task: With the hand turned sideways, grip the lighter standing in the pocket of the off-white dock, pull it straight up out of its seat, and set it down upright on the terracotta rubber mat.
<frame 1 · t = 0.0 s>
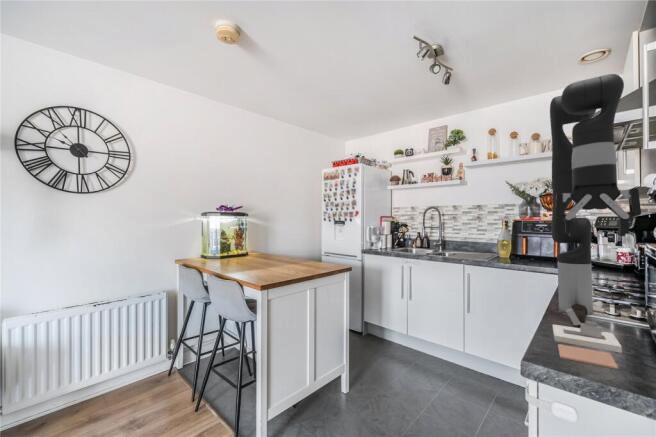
hand: (595, 236, 66), 29 cm above the countertop, tool pointing down, fingers open, 8 cm apart
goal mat: (585, 356, 69), on the countertop
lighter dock: (583, 339, 79), on the countertop
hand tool: (581, 324, 91), on the countertop
lighter: (583, 340, 79), resting in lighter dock
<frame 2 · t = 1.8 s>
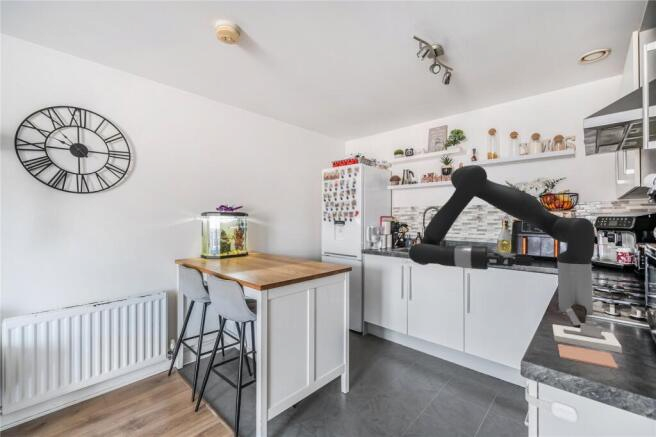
hand: (531, 260, 85), 21 cm above the countertop, tool horizontal, fingers open, 8 cm apart
nothing on the countertop moved.
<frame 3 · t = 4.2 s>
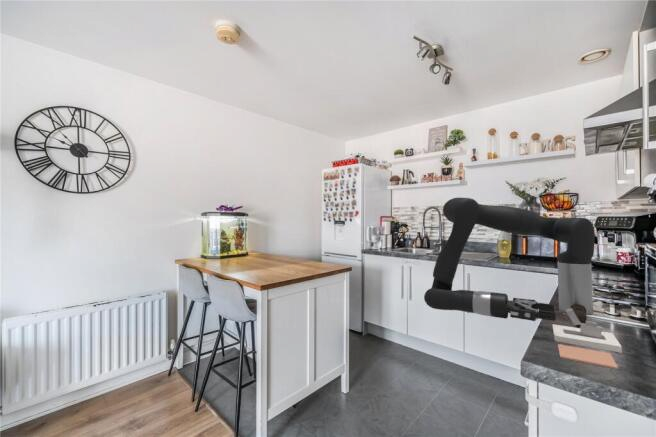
hand: (554, 312, 82), 6 cm above the countertop, tool horizontal, fingers open, 8 cm apart
nothing on the countertop moved.
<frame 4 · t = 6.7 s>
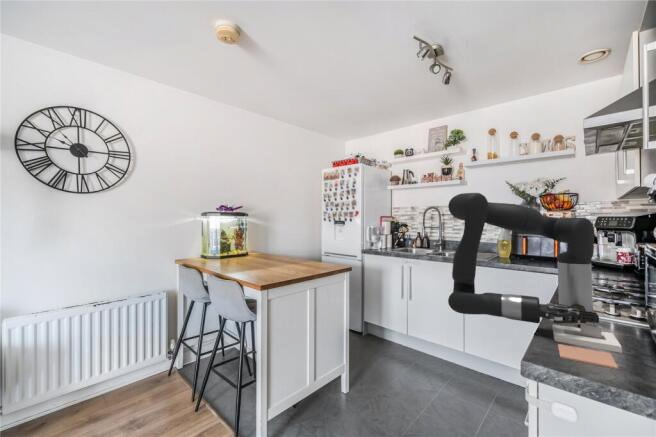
hand: (597, 317, 77), 7 cm above the countertop, tool horizontal, fingers closed on lighter, 1 cm apart
lighter: (583, 340, 79), resting in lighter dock, touching gripper
everything else where it was.
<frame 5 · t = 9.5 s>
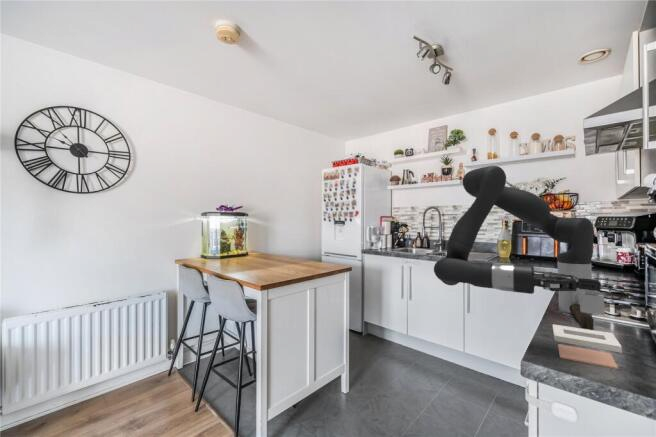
hand: (599, 285, 68), 17 cm above the countertop, tool horizontal, fingers closed on lighter, 1 cm apart
lighter: (583, 312, 69), point 11 cm above the countertop, touching gripper
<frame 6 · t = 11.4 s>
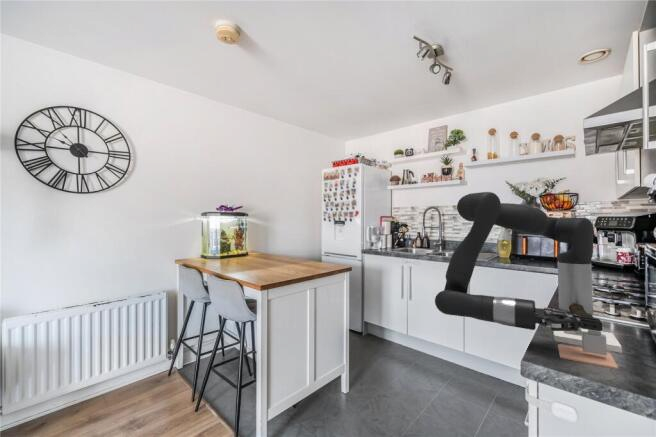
hand: (601, 325, 68), 8 cm above the countertop, tool horizontal, fingers closed on lighter, 1 cm apart
lighter: (585, 351, 69), point 1 cm above the countertop, touching gripper
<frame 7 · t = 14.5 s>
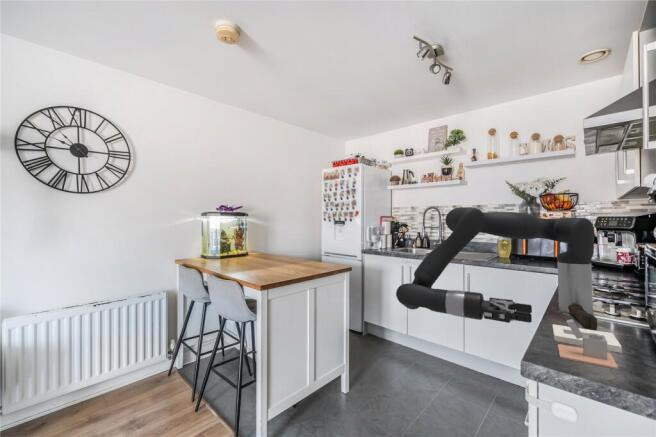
hand: (531, 313, 75), 9 cm above the countertop, tool horizontal, fingers open, 8 cm apart
lighter: (586, 355, 69), resting on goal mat
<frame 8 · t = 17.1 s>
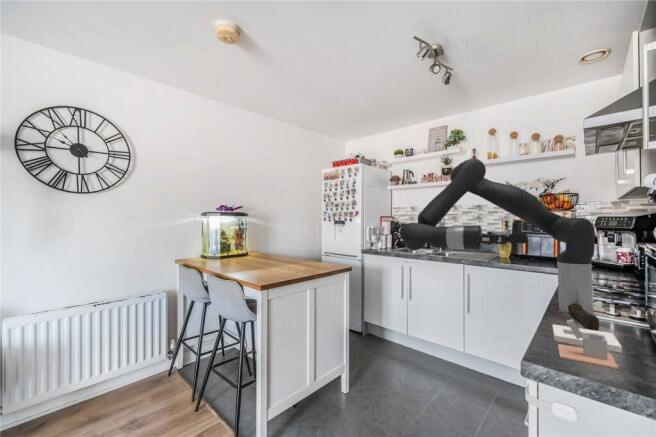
hand: (526, 238, 81), 28 cm above the countertop, tool horizontal, fingers open, 8 cm apart
at the end: lighter 0.3 cm from the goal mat (horizontally); lighter tilted 0°; the gripper is holding nothing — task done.
